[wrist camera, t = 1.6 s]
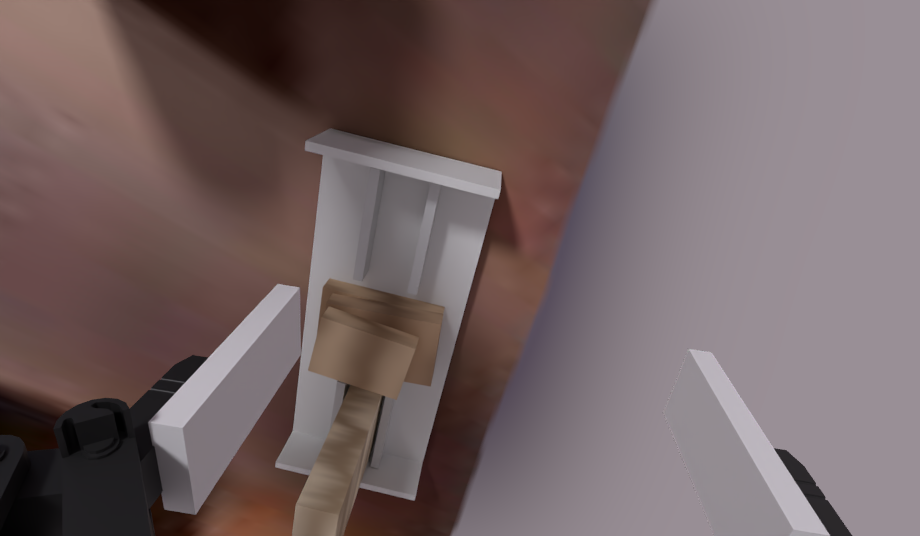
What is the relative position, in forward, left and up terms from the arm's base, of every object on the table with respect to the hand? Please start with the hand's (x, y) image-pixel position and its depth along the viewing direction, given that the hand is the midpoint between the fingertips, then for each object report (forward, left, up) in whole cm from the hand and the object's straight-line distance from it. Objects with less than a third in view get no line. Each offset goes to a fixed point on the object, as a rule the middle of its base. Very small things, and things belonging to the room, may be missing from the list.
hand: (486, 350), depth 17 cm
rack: (-7, -20, -30) cm, 37 cm away
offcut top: (-8, -20, -25) cm, 33 cm away
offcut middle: (-7, -20, -27) cm, 34 cm away
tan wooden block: (-7, -32, -29) cm, 44 cm away
